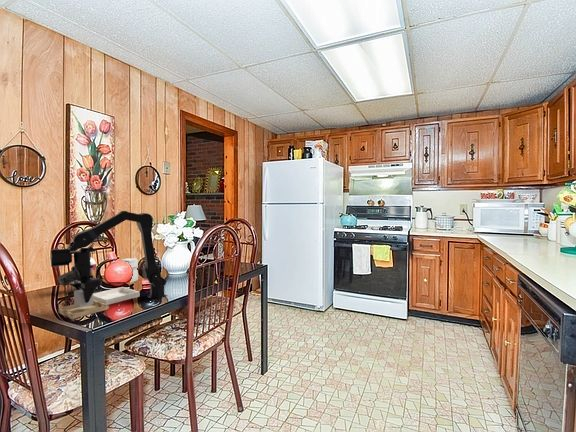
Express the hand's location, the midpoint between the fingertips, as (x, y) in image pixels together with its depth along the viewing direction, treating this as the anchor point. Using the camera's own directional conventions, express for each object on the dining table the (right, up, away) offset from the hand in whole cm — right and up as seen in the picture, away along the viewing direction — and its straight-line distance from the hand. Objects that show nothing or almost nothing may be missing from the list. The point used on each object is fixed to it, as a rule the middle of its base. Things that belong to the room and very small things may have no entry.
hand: (83, 301), depth 130 cm
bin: (+3, -3, +17) cm, 18 cm away
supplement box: (-6, -2, +48) cm, 48 cm away
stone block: (0, -2, 0) cm, 2 cm away
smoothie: (-18, -3, +31) cm, 36 cm away
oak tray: (0, -4, 0) cm, 4 cm away
